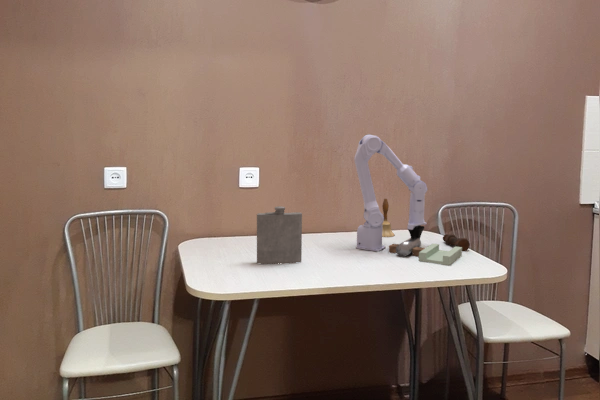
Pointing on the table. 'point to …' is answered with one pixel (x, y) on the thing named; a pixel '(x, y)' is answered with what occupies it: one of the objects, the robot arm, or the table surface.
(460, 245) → the bolt
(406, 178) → the robot arm
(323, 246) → the table surface
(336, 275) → the table surface
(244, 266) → the table surface
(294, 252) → the hip flask
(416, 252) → the bearing block
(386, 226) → the hand bell
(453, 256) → the pale green channelled slab
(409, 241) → the axle
